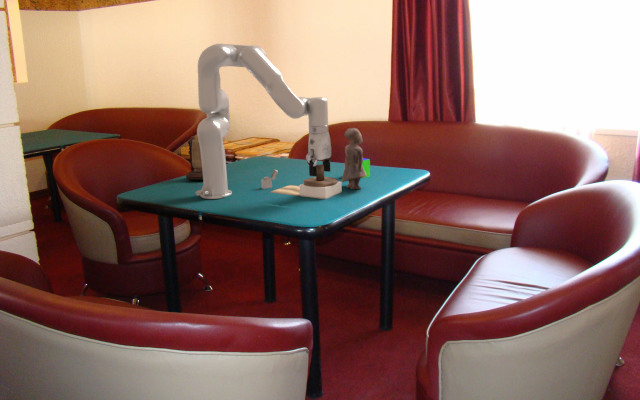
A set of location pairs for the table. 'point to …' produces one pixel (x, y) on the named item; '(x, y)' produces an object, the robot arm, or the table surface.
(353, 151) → the clay figurine
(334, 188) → the dish
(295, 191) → the mat
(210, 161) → the robot arm
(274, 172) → the lighter
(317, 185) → the lid
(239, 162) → the table surface
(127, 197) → the table surface
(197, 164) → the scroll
